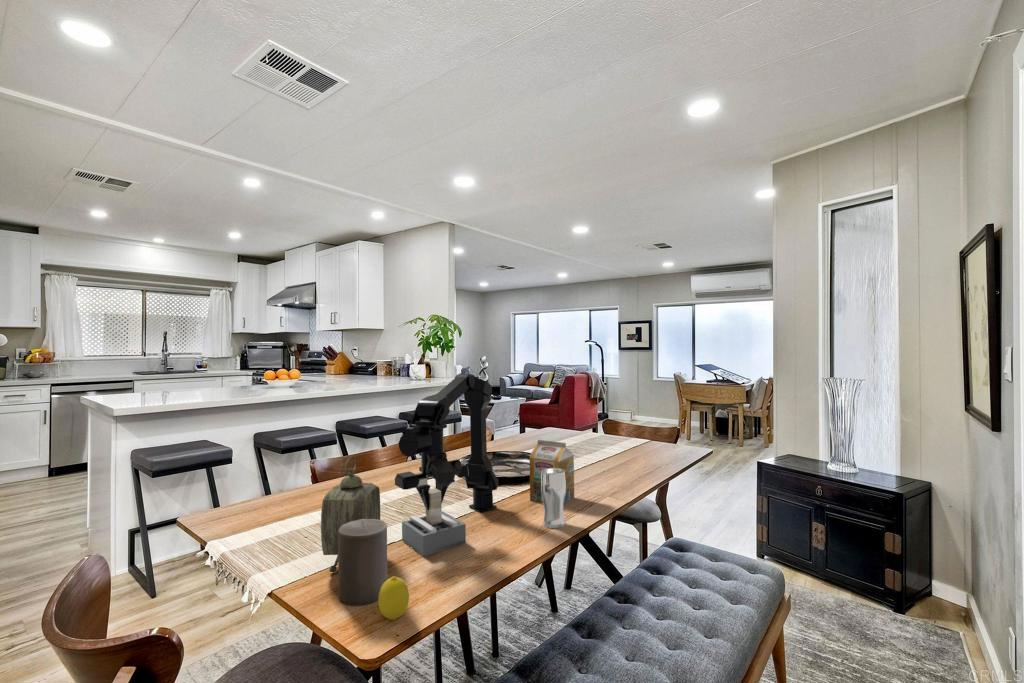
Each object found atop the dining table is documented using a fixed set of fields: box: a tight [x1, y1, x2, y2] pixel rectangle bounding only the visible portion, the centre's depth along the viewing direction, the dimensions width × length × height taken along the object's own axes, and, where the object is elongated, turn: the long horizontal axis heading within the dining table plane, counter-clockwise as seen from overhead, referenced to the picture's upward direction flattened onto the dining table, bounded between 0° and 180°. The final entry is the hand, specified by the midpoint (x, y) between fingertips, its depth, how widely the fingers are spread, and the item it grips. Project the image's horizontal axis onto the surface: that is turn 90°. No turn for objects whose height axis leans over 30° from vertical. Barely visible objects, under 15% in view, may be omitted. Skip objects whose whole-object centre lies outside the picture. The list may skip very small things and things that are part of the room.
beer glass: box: [541, 468, 566, 529], centre depth 132 cm, size 7×7×15 cm
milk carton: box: [528, 439, 575, 504], centre depth 153 cm, size 11×11×19 cm
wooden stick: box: [425, 488, 443, 525], centre depth 121 cm, size 3×3×8 cm
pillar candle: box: [337, 519, 389, 607], centre depth 97 cm, size 10×10×15 cm
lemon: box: [377, 575, 410, 621], centre depth 87 cm, size 6×6×8 cm
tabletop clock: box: [320, 455, 381, 573], centre depth 111 cm, size 14×9×25 cm, turn 178°
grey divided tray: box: [401, 511, 467, 558], centre depth 121 cm, size 12×12×6 cm
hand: (433, 508), depth 121 cm, fingers closed on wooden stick, 3 cm apart
